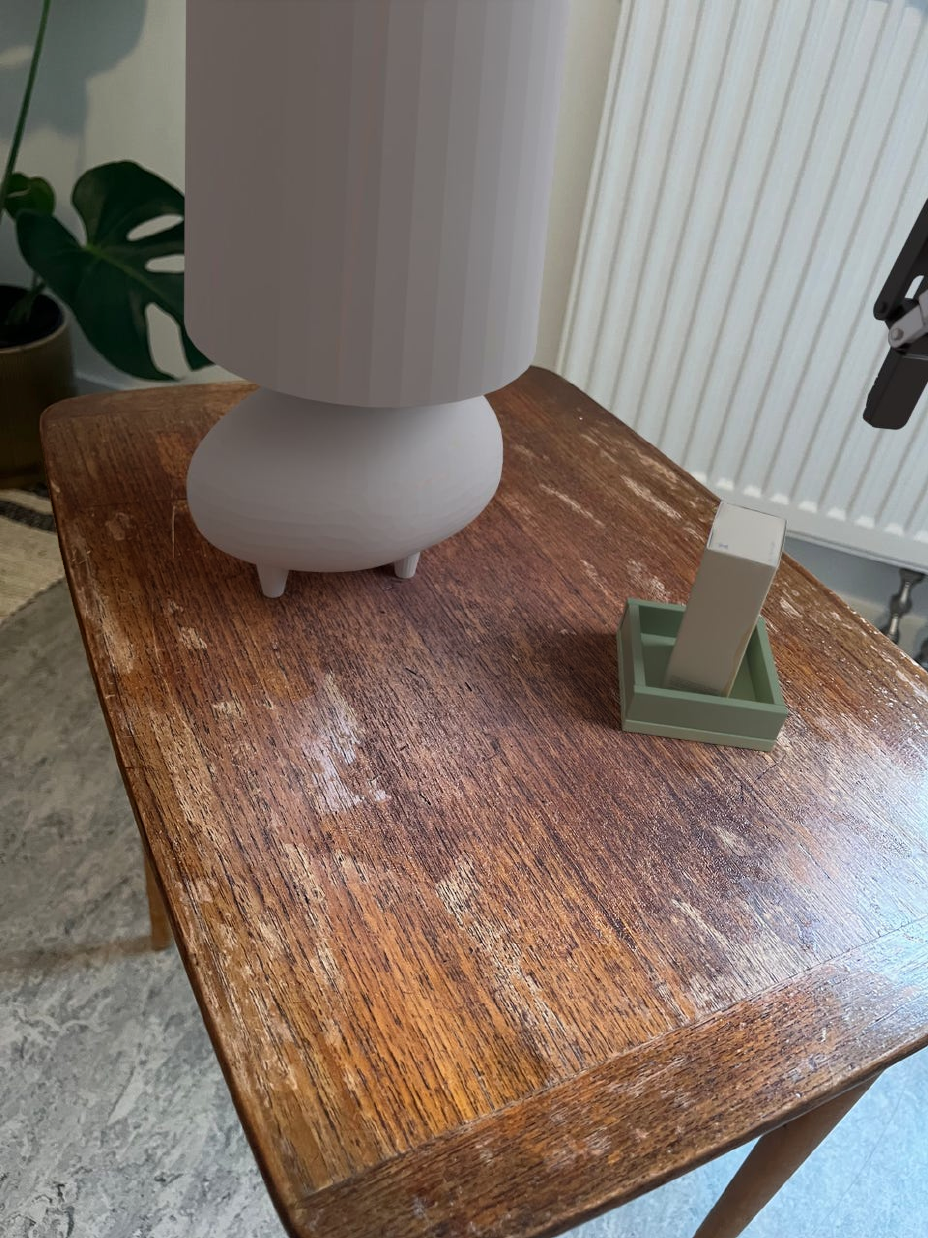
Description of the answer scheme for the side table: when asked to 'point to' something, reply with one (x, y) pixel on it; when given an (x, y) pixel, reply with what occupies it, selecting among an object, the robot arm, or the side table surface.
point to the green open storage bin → (692, 716)
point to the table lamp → (362, 264)
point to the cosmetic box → (725, 600)
